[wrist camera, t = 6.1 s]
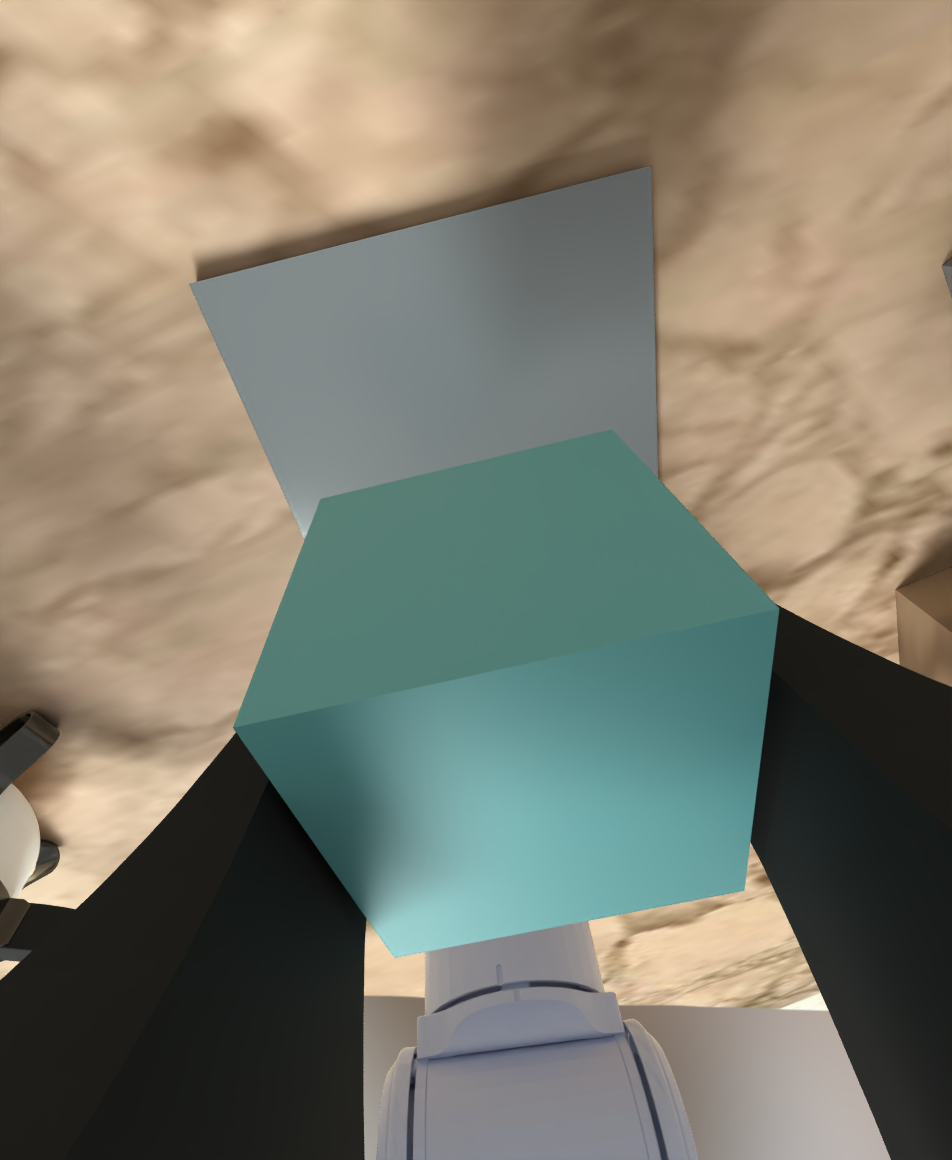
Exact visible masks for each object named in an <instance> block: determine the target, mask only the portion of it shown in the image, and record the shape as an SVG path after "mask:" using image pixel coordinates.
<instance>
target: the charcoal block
mask: <svg viewBox="0 0 952 1160" xmlns="http://www.w3.org/2000/svg"><path fill="white" fill-rule="evenodd" d="M942 268H943V271H944V275H945V278H946V281H947V284H948V287H949V290H950V293H951V297H952V258H951V259H950V260H949V261H947V262H946V263H945V264H943V265H942Z"/></svg>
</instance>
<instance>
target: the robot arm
mask: <svg viewBox="0 0 952 1160" xmlns="http://www.w3.org/2000/svg"><path fill="white" fill-rule="evenodd" d="M776 605H777V604H776ZM777 606H778V608H779V616H778V624H777V632H776V640H775V648H774V656H773V664H772V672H771V680H770V688H769V696H768V704H767V712H766V720H765V728H764V736H763V744H762V752H761V760H760V768H759V776H758V784H757V792H756V800H755V808H754V816H753V824H752V832H751V840H750V842H751V844H752V846H753V848H754V850H755V851H756V853H757V855H758V857H759V859H760V861H761V863H762V865H763V867H764V869H765V871H766V873H767V875H768V877H769V880H770V882H771V884H772V886H773V888H774V890H775V893H776V895H777V897H778V899H779V901H780V903H781V905H782V908H783V910H784V912H785V914H786V916H787V918H788V921H789V923H790V925H791V927H792V929H793V931H794V934H795V936H796V938H797V940H798V942H799V945H800V947H801V949H802V952H803V954H804V956H805V958H806V961H807V963H808V965H809V967H810V970H811V972H812V974H813V976H814V979H815V981H816V983H817V985H818V988H819V990H820V992H821V994H822V997H823V999H824V1001H825V1003H826V1006H827V1008H828V1010H829V1012H830V1015H831V1017H832V1019H833V1022H834V1024H835V1026H836V1029H837V1031H838V1033H839V1036H840V1038H841V1040H842V1043H843V1045H844V1048H845V1050H846V1052H847V1055H848V1057H849V1059H850V1062H851V1064H852V1066H853V1069H854V1071H855V1073H856V1076H857V1078H858V1081H859V1083H860V1085H861V1088H862V1090H863V1092H864V1095H865V1097H866V1099H867V1102H868V1104H869V1107H870V1109H871V1111H872V1113H873V1116H874V1118H875V1121H876V1123H877V1126H878V1128H879V1131H880V1133H881V1135H882V1138H883V1141H884V1143H885V1145H886V1148H887V1151H888V1153H889V1156H890V1158H891V1160H952V687H951V686H948V685H946V684H943V683H941V682H938V681H936V680H933V679H931V678H928V677H926V676H924V675H921V674H919V673H917V672H914V671H912V670H910V669H907V668H905V667H903V666H901V665H898V664H896V663H894V662H892V661H889V660H887V659H885V658H883V657H881V656H879V655H877V654H875V653H872V652H870V651H868V650H866V649H864V648H862V647H860V646H858V645H855V644H853V643H851V642H849V641H847V640H845V639H843V638H841V637H839V636H837V635H835V634H833V633H831V632H829V631H827V630H825V629H823V628H821V627H819V626H817V625H815V624H813V623H811V622H809V621H807V620H805V619H803V618H801V617H799V616H797V615H795V614H794V613H792V612H790V611H788V610H786V609H784V608H782V607H781V606H779V605H777ZM365 931H366V917H365V915H364V914H363V913H362V911H361V910H360V908H359V907H358V905H357V904H356V903H355V901H354V900H353V898H352V897H351V895H350V894H349V893H348V891H347V890H346V888H345V887H344V885H343V884H342V883H341V881H340V880H339V878H338V877H337V875H336V874H335V873H334V871H333V870H332V868H331V867H330V865H329V864H328V863H327V861H326V860H325V858H324V857H323V855H322V854H321V853H320V851H319V850H318V848H317V847H316V845H315V844H314V843H313V841H312V840H311V838H310V837H309V835H308V834H307V833H306V831H305V830H304V828H303V827H302V825H301V824H300V823H299V821H298V820H297V818H296V817H295V815H294V814H293V813H292V811H291V810H290V808H289V807H288V805H287V804H286V803H285V801H284V800H283V798H282V797H281V795H280V794H279V793H278V791H277V790H276V788H275V787H274V785H273V784H272V783H271V781H270V780H269V778H268V777H267V775H266V774H265V773H264V771H263V770H262V768H261V767H260V765H259V764H258V763H257V761H256V760H255V758H254V757H253V755H252V754H251V753H250V751H249V750H248V748H247V747H246V745H245V744H244V743H243V741H242V740H241V738H240V737H239V735H238V734H237V733H235V734H234V736H233V737H232V738H231V740H230V741H229V742H228V743H227V745H226V746H225V747H224V748H223V749H222V751H221V752H220V753H219V754H218V755H217V757H216V758H215V759H214V760H213V761H212V763H211V764H210V765H209V766H208V767H207V769H206V770H205V771H204V772H203V773H202V775H201V776H200V777H199V778H198V779H197V781H196V782H195V783H194V784H193V785H192V787H191V788H190V789H189V790H188V791H187V793H186V794H185V795H184V796H183V797H182V799H181V800H180V801H179V802H178V803H177V805H176V806H175V807H174V808H173V809H172V810H171V811H170V812H169V814H168V815H167V816H166V817H165V818H164V819H163V820H162V821H161V822H160V824H159V825H158V826H157V827H156V828H155V829H154V830H153V831H152V832H151V833H150V835H149V836H148V837H147V838H146V839H145V840H144V841H143V842H142V843H141V844H140V845H139V846H138V847H137V848H136V849H135V850H134V851H133V852H132V853H131V855H130V856H129V857H128V858H127V859H126V860H125V861H124V862H123V863H122V864H121V865H120V866H119V867H118V868H117V869H116V870H115V871H114V872H113V873H112V874H111V875H110V876H109V877H108V878H107V879H106V880H105V881H104V882H103V883H102V884H101V885H100V886H99V887H98V888H97V889H96V890H95V891H94V892H93V893H92V894H91V895H90V896H89V897H88V898H87V899H86V900H85V901H84V902H83V903H82V904H81V905H80V906H79V907H78V908H77V909H76V910H75V911H73V912H72V913H71V914H70V915H69V916H68V917H67V918H66V919H65V920H64V921H63V922H62V923H61V924H60V925H59V926H58V927H57V928H56V929H54V930H53V931H52V932H51V933H50V934H49V935H48V936H47V937H46V938H45V939H44V940H43V941H42V942H41V943H40V944H39V945H38V946H37V947H35V948H34V949H33V950H32V951H31V952H30V953H29V954H28V955H27V956H26V957H25V958H24V959H23V960H22V961H21V962H20V963H19V964H18V965H16V966H15V967H14V968H13V969H12V970H11V971H10V972H9V973H8V974H7V975H6V976H5V977H3V978H2V979H1V980H0V1160H364V1113H363V1112H364V1108H363V1009H364V1005H363V1004H364V952H365ZM376 1160H699V1159H698V1155H697V1151H696V1147H695V1143H694V1139H693V1136H692V1132H691V1128H690V1125H689V1122H688V1118H687V1115H686V1111H685V1108H684V1104H683V1101H682V1098H681V1095H680V1092H679V1089H678V1086H677V1083H676V1081H675V1079H674V1076H673V1073H672V1070H671V1068H670V1065H669V1063H668V1061H667V1058H666V1056H665V1054H664V1052H663V1050H662V1048H661V1047H660V1045H659V1044H658V1042H657V1041H656V1040H655V1039H654V1038H653V1037H652V1036H651V1035H650V1034H649V1033H648V1032H647V1031H646V1030H645V1029H644V1027H643V1026H642V1025H641V1024H640V1023H639V1022H638V1021H637V1020H635V1019H628V1020H622V1018H621V1014H620V1010H619V1006H618V1002H617V998H616V994H615V993H614V992H606V993H605V991H604V986H603V982H602V978H601V974H600V970H599V965H598V961H597V957H596V953H595V949H594V944H593V940H592V936H591V932H590V928H589V923H588V921H584V922H579V923H573V924H568V925H563V926H558V927H553V928H547V929H542V930H537V931H532V932H527V933H521V934H516V935H511V936H506V937H501V938H495V939H490V940H485V941H480V942H475V943H469V944H464V945H459V946H454V947H449V948H443V949H438V950H433V951H428V952H425V1015H424V1016H419V1017H418V1019H417V1047H405V1048H404V1049H402V1050H401V1051H400V1053H399V1054H398V1057H397V1060H396V1061H395V1063H394V1064H393V1066H392V1067H391V1069H390V1070H389V1072H388V1073H387V1076H386V1079H385V1082H384V1087H383V1093H382V1099H381V1106H380V1115H379V1125H378V1139H377V1155H376Z"/></svg>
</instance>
